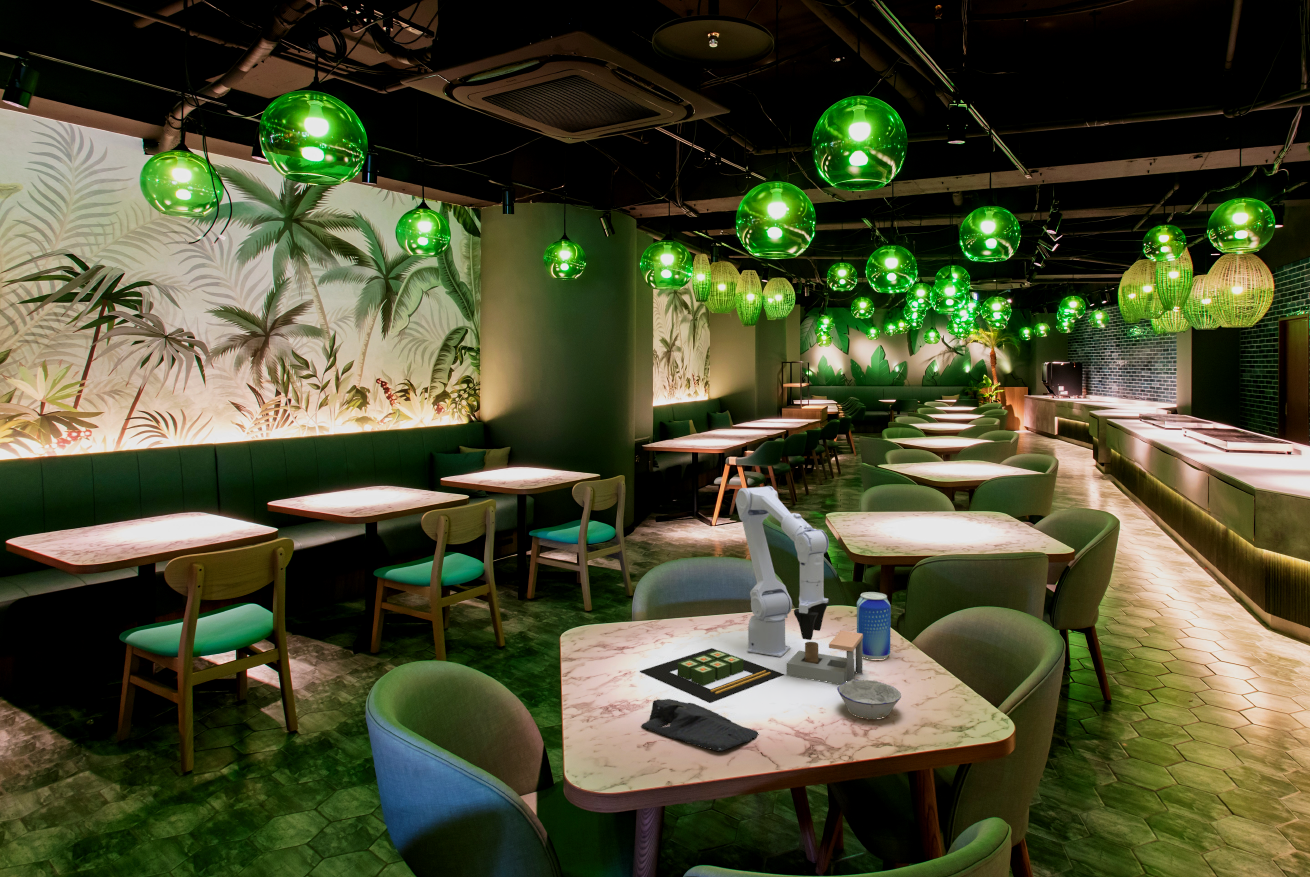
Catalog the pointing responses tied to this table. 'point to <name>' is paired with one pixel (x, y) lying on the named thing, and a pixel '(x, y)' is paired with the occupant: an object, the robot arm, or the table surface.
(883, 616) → the beer can
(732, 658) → the sushi
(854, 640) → the raised peach slab
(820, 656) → the socket plate
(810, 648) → the peg
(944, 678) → the table surface
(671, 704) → the black folded cloth
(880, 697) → the bowl
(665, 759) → the table surface
